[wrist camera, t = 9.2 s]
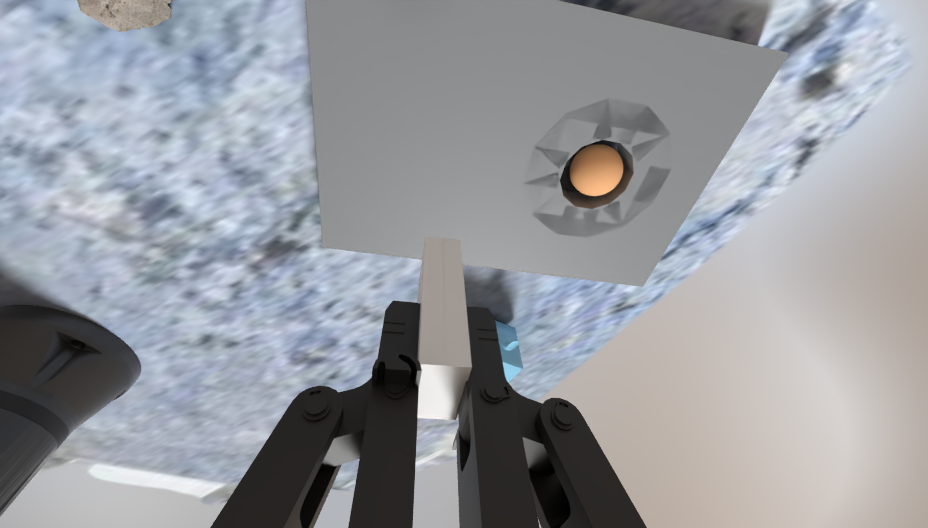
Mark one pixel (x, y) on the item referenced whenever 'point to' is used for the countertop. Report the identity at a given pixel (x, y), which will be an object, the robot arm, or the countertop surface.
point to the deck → (518, 129)
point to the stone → (127, 12)
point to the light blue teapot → (509, 350)
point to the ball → (596, 169)
